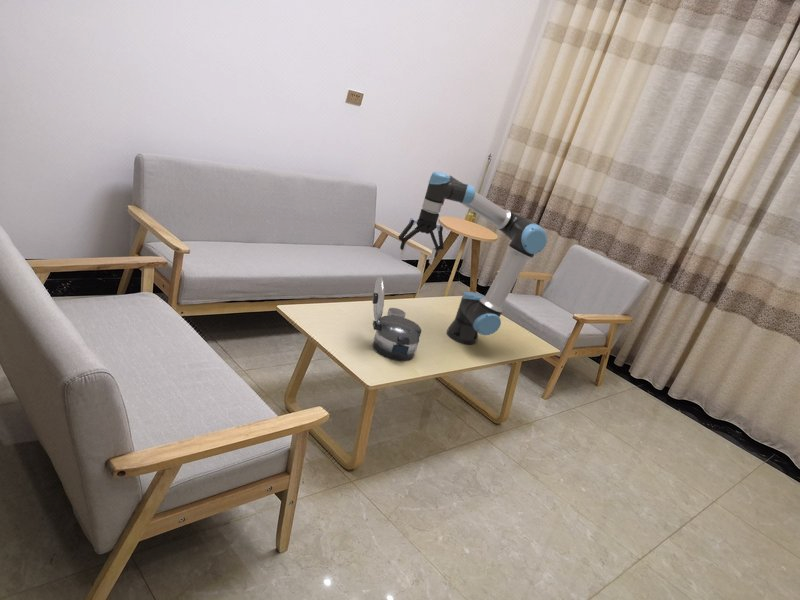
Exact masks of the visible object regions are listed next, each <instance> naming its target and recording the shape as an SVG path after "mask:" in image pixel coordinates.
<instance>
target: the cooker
mask: <svg viewBox="0 0 800 600" xmlns="http://www.w3.org/2000/svg"><path fill="white" fill-rule="evenodd" d="M372 327H373V330H375V333H374V337H373V343H372V348H373V350H374V351H375V352H376V353H378V354H379V355H380V356H382V357H384V358H386V359H389V360H393V361H398V362H406V361H407V362H408V361H411V360H412V359H413V358H414V356H415V353H416V351H417V350H418V346H419V342H420V337H421V334H422V328H421V327H420V326H419V324H418V323H415V322H414V321H412V320H410V319H408V318H403V317H399V316H394V315H388V316H387V315H382V317H381V320H380V325H379V326H378V325H377V323H376V321H375V320H372Z"/></svg>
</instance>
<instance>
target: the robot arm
mask: <svg viewBox="0 0 800 600" xmlns="http://www.w3.org/2000/svg"><path fill="white" fill-rule="evenodd" d="M444 200H449V201H453V202H457V203H460V204H461V205H463V206H464V207H466V208H468V209H469V210H470V211H472V212H474V213H476V215H479V216H480V217H482V218H484V219H485V220H487V221H488V222H490V223H491V224H494V226H495V228H496V229H498V230H499V231H500V232H501V233H503V234H504V235H505V236H506V237H507V238H509V239H510V240H511V241H510V242H509V244H508V248H509V249H508V250H509V252H508V254H507V255H506V257H505V260H504V261H503V262H502V264H501V267H500V268H499V270H498V272H497V273H496V276H495V278H494V279H493V282H492V284H491V285H490V287H489V288H488V290H487V293H486V294H485V295H484V294H481V293H478V292H474V291H465V292H463V295H462V297H461V300H460V302H459V306H458V309H457V311H456V314H455V318H454V320H453V321H452V322H451V323H450V325H449V326H448V327H447V330H446V335H447V336H448V337H450V338H451V339H452V340H454V341H456V342H459V343H462V344H466V345H474V344H476V343H477V342H478V339H479V338H478V336H479V335H482V336H490V335H492V334H495V333H496V332H497V331H498V330H499V329H500V327H501V324H502V322H501V320H502V319H501V318H500V317H501V315H502V314H503V312H504V310H503V307H502V306H504V305H503V304H504V303H505V302H506V299H507V297H508V296H509V294H510V292H511V291H512V288H513V287H514V285H515V284H516V281H517V279H518V278H519V276H520V274H521V272H522V270H523V269H524V267H525V265H526V263H527V262H528V260H530V259H533V258H534V256H535V255H536V254H539V253H540V252H542V251H543V250H544V249H545V248H546V244H547V242H548V236H547V233H546V231H545V230H544V228H542V227H541V225H538V224H537V223H535V222H533V221H531V220H530V219H528V218H527V217H524V216H522V215H519V214H517V213H515V212H513V211H511V210H510V209H503V208H502V207H501V206H499V205H497V204H496V203H494V202H493V201H491V200H489V198H486V197H485V196H483V195H482V194H480V193H479V192H477V191H476V187H474V186H473V185H471V184H469V183H467V184H466V183H464V182H462V181H459V180H458V179H457V178H455V177H453V176H452V175H450V174H447V173H444V172H441V171H433V172H432V173H431V175H430V178H429V181H428V185H427V189H426V193H425V196H424V199H423V203H422V206H421V207H422V208H421V209H420V212H419V216H418V219H416V220H415V219H414V218H410V220H409V222H408V223H407V225H406V226H405V227H404V228H403V230H402V232H401V233H400V234H399V235H398V240H399V241H400V242H401V243H400V247H399V249H400V250H401V252H400V255H399V256H400V258H401V259H404V257H405V256H404V255H405V253H406V249H407V246H408V241H410V239H412V238H413V237H415V236H416V234H418V233H425V234H427V235H428V234H429V235H430V238H431V240H432V243H433V245H434V247H433V248H432V251H431V254H430V257H429V261H428V264H430V265H433V261H434V259H435V258H437V256H438V253H439V251H440V250H441V251H442V250H444V238H443V230H444V227H443V225H441V224H439V225H437V222H438V220H439V216H440V214H439V213H440V212H441V210H442V206H443V203H444ZM415 225H416V227H414V228H413V230H412V231H411V232H410V230H411V229H412V227H413V226H415ZM435 230H436V231H437V234H438V235H437V236H438V242H437V239H436V236H435V232H434V231H435ZM408 232H409V233H408ZM438 243H439V244H438ZM478 334H479V335H478Z"/></svg>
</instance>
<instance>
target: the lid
mask: <svg viewBox="0 0 800 600" xmlns="http://www.w3.org/2000/svg"><path fill="white" fill-rule="evenodd" d="M384 304H385V280H384V277H383V276H377V277H376V280H375V285H374V291H373V294H372V305H373V306H372V307H373V317H374V321H376V323H377V325H378V326H379V325H380V320H381V317H383V312H384V306H385V305H384Z"/></svg>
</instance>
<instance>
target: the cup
mask: <svg viewBox="0 0 800 600" xmlns="http://www.w3.org/2000/svg"><path fill="white" fill-rule="evenodd" d="M387 311H388V312H387V315H386V316H388V315H394V316H399V317H403V318H405V317H406V315H407V313H406V312H405V311H404V310H402V309H400V308H397V307H390V308H388V310H387Z"/></svg>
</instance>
